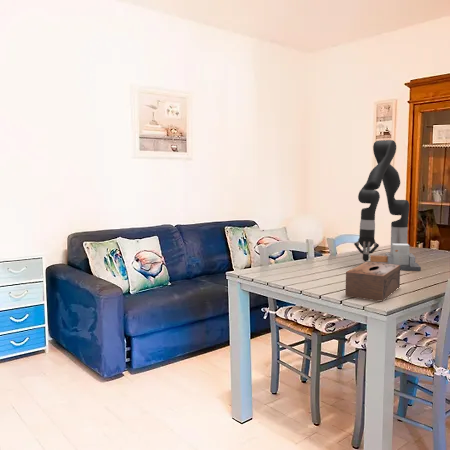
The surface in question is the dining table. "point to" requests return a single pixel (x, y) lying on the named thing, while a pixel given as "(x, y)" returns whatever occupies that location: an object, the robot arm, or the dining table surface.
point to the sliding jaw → (382, 258)
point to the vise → (410, 267)
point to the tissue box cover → (372, 280)
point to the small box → (400, 254)
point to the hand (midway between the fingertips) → (365, 261)
